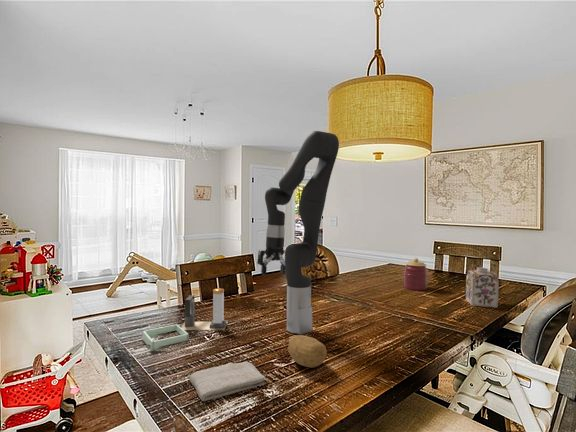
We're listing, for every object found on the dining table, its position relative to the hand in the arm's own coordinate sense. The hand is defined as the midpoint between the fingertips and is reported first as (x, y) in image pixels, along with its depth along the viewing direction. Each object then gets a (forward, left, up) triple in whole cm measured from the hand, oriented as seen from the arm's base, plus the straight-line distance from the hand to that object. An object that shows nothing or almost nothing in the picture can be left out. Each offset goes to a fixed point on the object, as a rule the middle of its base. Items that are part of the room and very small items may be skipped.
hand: (273, 274), depth 142 cm
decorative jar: (-39, -99, -19) cm, 108 cm away
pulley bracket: (+7, +27, -19) cm, 34 cm away
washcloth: (-35, +38, -20) cm, 56 cm away
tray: (+3, +43, -19) cm, 47 cm away
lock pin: (+4, +23, -18) cm, 29 cm away
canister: (-1, -101, -19) cm, 102 cm away
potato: (-39, +14, -19) cm, 46 cm away
